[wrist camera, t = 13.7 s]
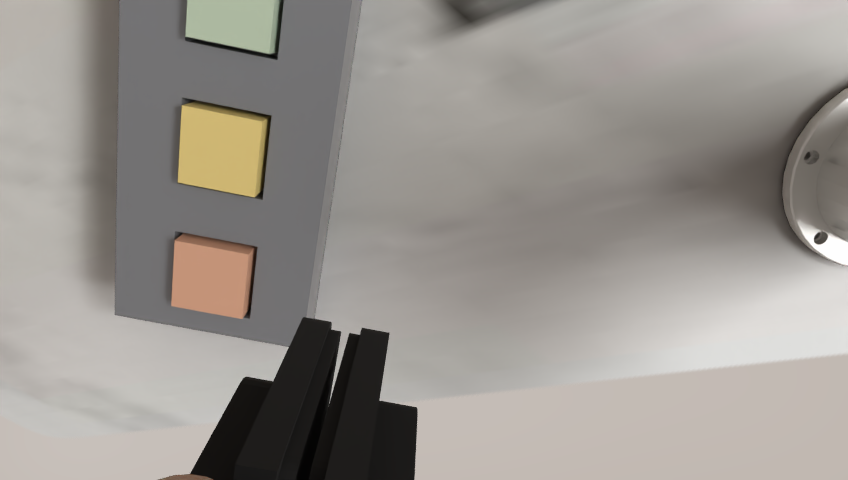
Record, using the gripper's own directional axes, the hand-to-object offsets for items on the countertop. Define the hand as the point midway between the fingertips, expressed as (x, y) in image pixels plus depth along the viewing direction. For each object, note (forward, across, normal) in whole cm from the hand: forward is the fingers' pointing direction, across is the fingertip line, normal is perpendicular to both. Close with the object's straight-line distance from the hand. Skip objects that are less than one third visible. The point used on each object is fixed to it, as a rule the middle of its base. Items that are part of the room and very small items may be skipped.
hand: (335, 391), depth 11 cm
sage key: (+25, +10, -6) cm, 27 cm away
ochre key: (+25, +10, +2) cm, 27 cm away
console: (+27, +10, +2) cm, 29 cm away
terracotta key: (+25, +10, +10) cm, 28 cm away
